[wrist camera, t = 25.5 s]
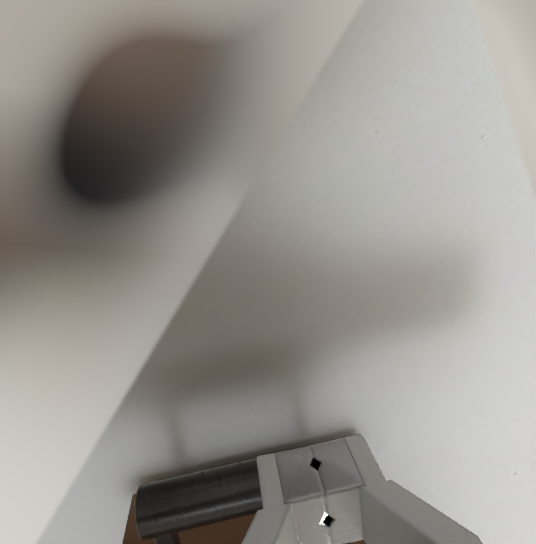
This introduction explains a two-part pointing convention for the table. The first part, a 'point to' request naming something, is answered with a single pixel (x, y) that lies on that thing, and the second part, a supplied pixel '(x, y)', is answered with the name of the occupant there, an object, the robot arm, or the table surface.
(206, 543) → the drawer
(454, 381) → the table surface
